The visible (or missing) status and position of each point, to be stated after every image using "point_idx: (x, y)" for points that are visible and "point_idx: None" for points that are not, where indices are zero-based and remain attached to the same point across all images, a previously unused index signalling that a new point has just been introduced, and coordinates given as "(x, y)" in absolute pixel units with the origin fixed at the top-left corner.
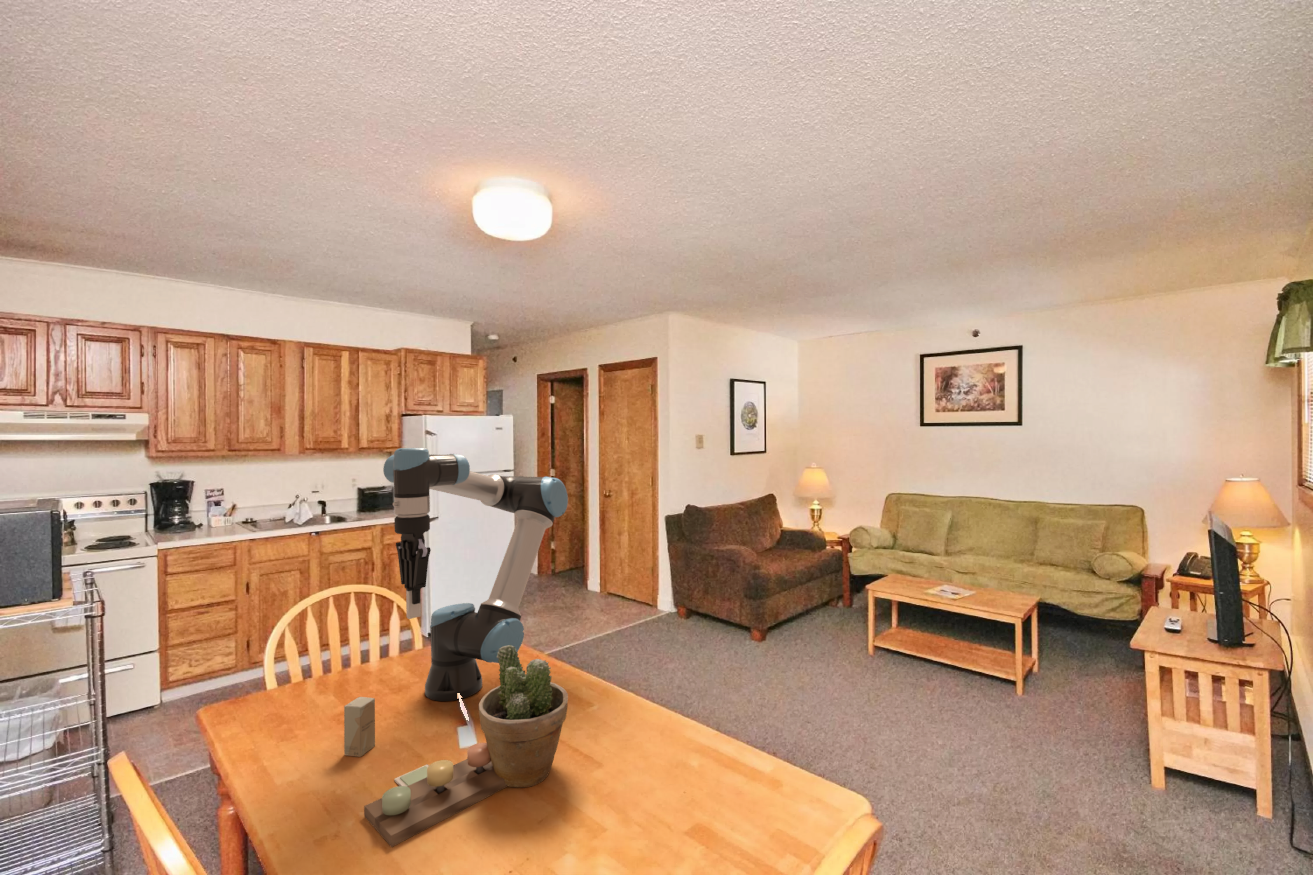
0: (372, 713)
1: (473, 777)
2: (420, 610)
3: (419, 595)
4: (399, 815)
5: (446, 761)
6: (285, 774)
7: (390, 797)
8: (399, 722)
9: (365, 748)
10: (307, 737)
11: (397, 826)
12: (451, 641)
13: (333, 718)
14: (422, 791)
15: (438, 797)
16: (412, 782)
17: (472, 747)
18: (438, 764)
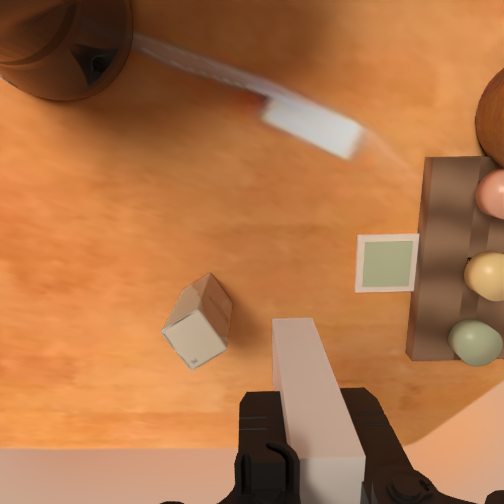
0: (208, 303)
1: None
2: (319, 337)
3: (393, 439)
4: None
5: (495, 263)
6: (198, 398)
7: (481, 356)
8: (148, 202)
9: (226, 297)
10: (87, 346)
11: None
12: (47, 4)
13: (34, 292)
14: (453, 288)
15: None
16: (395, 278)
17: (496, 202)
18: (490, 277)
